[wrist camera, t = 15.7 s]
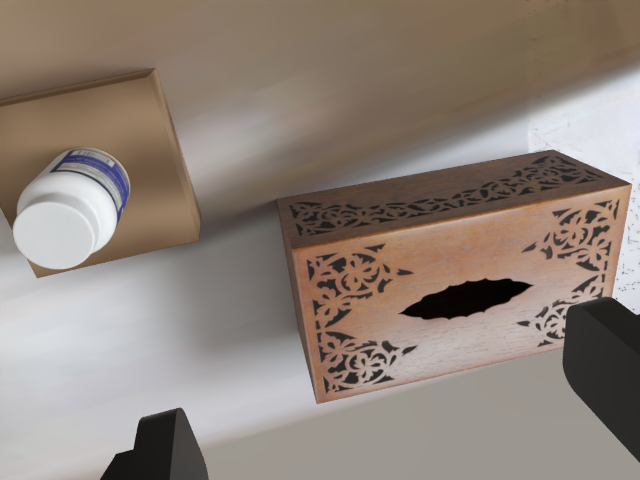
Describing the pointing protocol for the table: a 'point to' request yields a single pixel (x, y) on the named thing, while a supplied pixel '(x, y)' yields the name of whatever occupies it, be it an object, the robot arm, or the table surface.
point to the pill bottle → (71, 208)
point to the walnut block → (118, 141)
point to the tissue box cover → (447, 267)
